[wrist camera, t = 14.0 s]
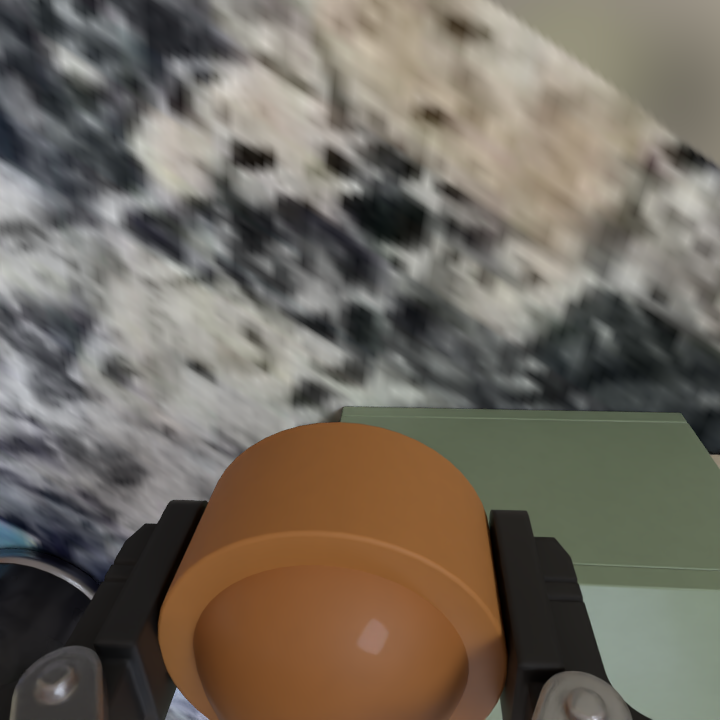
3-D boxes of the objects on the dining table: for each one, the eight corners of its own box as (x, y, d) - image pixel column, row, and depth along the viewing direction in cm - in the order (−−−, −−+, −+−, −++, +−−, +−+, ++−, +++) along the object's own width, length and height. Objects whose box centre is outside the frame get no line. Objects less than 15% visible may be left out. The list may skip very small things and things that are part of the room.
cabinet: (681, 411, 26) (808, 594, 17) (629, 612, 32) (704, 821, 23) (342, 405, 27) (307, 572, 19) (354, 598, 33) (331, 791, 25)
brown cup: (237, 602, 15) (159, 845, 11) (199, 399, 12) (70, 608, 8) (478, 613, 15) (507, 874, 10) (495, 403, 12) (544, 630, 7)
